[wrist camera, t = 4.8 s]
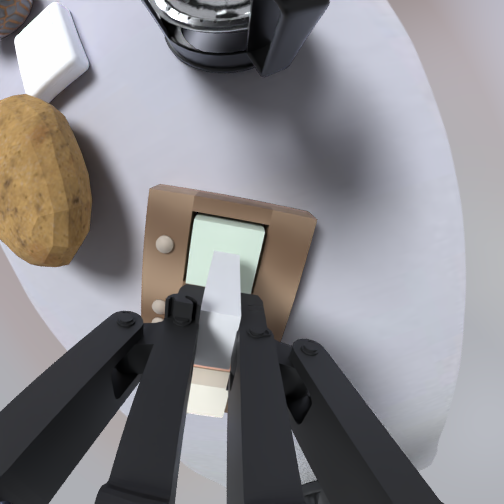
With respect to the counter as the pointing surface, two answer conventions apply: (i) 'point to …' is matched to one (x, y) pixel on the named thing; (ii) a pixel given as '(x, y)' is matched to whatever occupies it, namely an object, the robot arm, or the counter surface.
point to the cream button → (208, 392)
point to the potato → (41, 183)
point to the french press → (239, 30)
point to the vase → (13, 15)
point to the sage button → (224, 247)
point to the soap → (50, 53)
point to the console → (191, 201)
